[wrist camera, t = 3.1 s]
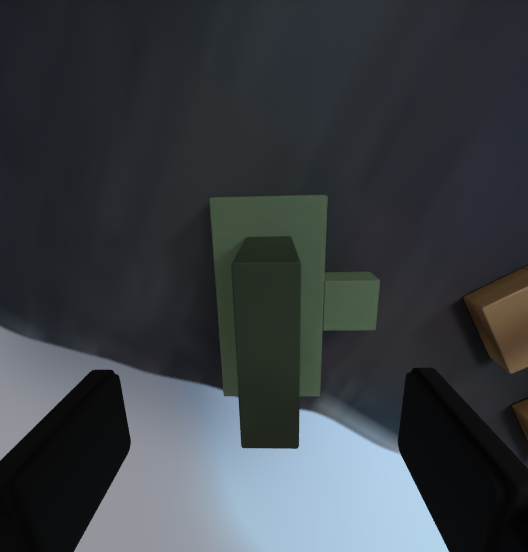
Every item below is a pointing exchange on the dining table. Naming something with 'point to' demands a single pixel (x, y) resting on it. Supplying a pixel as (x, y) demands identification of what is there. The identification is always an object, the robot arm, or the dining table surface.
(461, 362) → the dining table surface
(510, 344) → the notched brown wooden block
